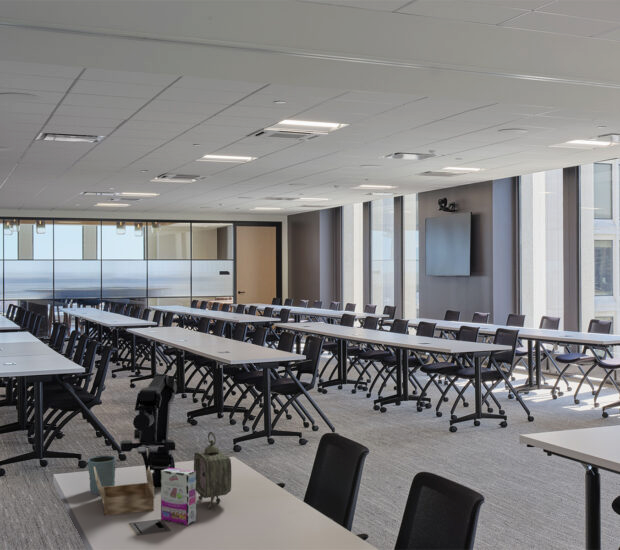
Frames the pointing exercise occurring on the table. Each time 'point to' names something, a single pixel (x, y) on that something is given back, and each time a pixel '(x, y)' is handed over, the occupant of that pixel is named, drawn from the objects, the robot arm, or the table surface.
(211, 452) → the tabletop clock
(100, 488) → the flap
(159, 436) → the robot arm
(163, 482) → the candy bar box
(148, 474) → the flap
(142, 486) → the carton
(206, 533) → the table surface
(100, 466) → the teal cup
